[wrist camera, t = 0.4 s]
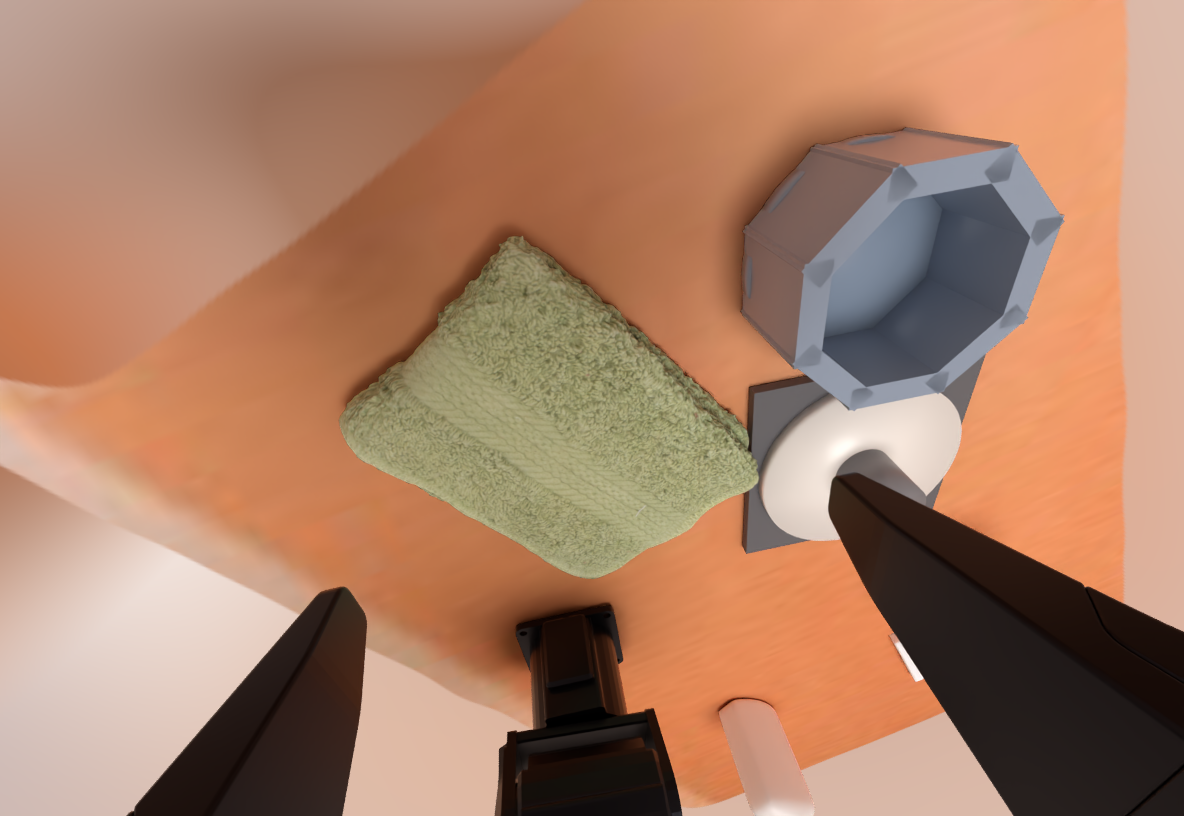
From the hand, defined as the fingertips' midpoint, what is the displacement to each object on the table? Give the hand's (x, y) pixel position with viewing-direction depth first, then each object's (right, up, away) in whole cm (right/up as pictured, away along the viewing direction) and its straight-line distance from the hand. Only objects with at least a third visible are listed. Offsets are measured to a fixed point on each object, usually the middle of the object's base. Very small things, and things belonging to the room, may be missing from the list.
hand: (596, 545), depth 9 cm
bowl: (+11, +9, +13) cm, 19 cm away
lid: (+15, 0, +19) cm, 24 cm away
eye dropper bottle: (+13, -24, +35) cm, 45 cm away
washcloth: (-1, +2, +17) cm, 17 cm away
